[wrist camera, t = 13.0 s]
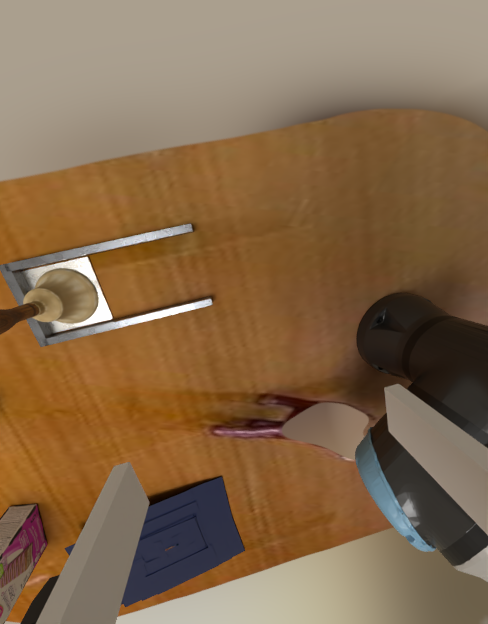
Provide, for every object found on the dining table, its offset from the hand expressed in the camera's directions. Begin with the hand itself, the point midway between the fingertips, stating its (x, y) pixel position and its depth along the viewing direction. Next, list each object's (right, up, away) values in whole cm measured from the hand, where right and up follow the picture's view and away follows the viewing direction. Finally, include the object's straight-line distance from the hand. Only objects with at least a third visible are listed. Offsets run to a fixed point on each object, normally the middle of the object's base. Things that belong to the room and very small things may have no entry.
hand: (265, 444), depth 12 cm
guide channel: (-20, +11, +23) cm, 32 cm away
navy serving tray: (-18, -41, +38) cm, 59 cm away
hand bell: (-27, +9, +23) cm, 36 cm away
